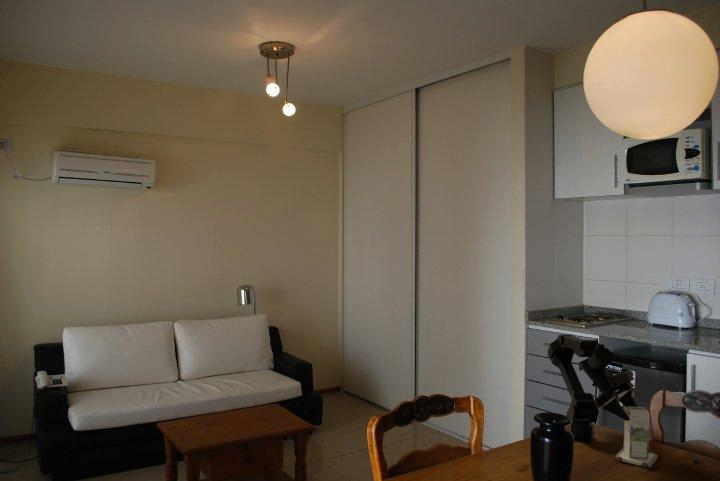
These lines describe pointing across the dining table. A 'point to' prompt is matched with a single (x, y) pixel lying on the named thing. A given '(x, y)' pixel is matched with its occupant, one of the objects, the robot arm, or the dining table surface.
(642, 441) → the syrup box
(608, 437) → the dining table surface
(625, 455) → the dolly
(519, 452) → the dining table surface
